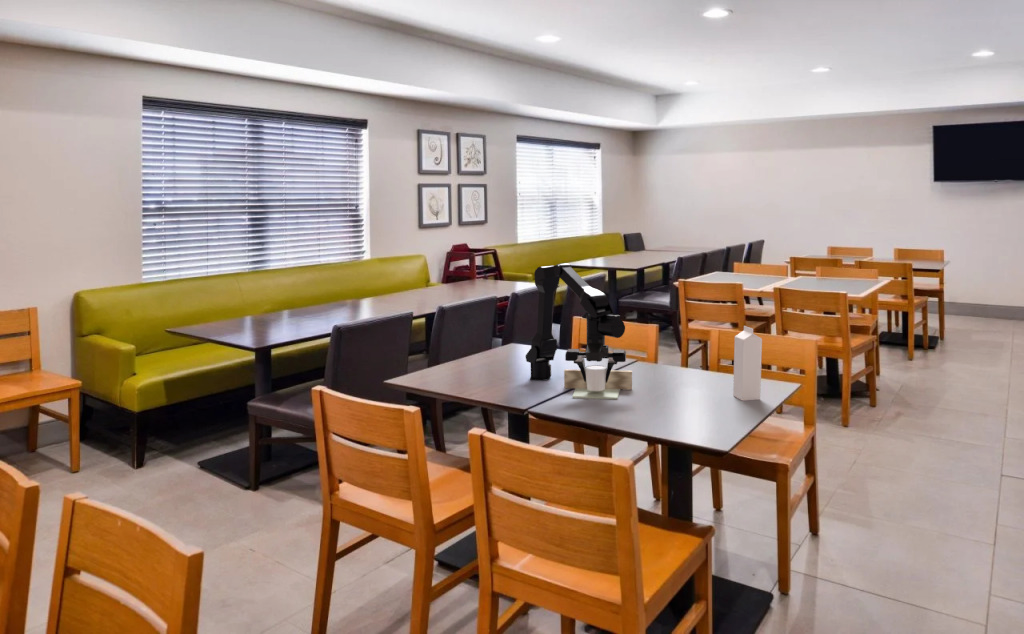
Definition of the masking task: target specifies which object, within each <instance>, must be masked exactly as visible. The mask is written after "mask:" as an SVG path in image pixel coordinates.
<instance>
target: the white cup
mask: <svg viewBox="0 0 1024 634" xmlns="http://www.w3.org/2000/svg"><path fill="white" fill-rule="evenodd" d="M606 371H607V366H605V365H600V364H599V365H598V364H597V365H596V364H595V365H594V364H593V365H587V366H586V365H585V372H586V382H587V389H588V390H591V391H602V390H604V389H605V382H606Z"/></svg>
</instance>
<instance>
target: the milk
mask: <svg viewBox="0 0 1024 634" xmlns="http://www.w3.org/2000/svg"><path fill="white" fill-rule="evenodd" d="M733 346H734V351H733V353H734V354H733V389H732V391H733V393H732V395H733V397H734V398H737V400H740V401H742V402H744V401H746V402H747V401H757V400H758V401H759V400H761V390H762V389H761V386H762V354H763V352H762V351H763V338H762V337H760V336H758V335H757V334H754V328H752V327H749V326H747V325H743V330H742V331H740V332H739V333H738V334H736V335H734V345H733Z"/></svg>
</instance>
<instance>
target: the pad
mask: <svg viewBox="0 0 1024 634" xmlns="http://www.w3.org/2000/svg"><path fill="white" fill-rule="evenodd" d="M574 389H575V390H574V392H573V394H572V399H587V400H588V399H591V400H592V399H593V400H595V399H597V400H618V399H619V396H620V395H619V393H620V389H604V390H602V391H591V390H588V389H582V388H574Z"/></svg>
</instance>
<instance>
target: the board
mask: <svg viewBox="0 0 1024 634" xmlns="http://www.w3.org/2000/svg"><path fill="white" fill-rule="evenodd" d="M563 373H564V375H563V380H564V382H563V383H564V384H563V385H564V388H563V389H576V388H582V389H587V382H584V379H583V376H582V373H581V370H580V369H571V368H570V369H564V370H563ZM606 373H607V371H606ZM605 389H619V390H621V389H623V390H624V391H625V390H627V391H628V390H633V370H616V369H615V370H614V369H611V372H610V375H609V378H608V381H607V383H606V382H605Z"/></svg>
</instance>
